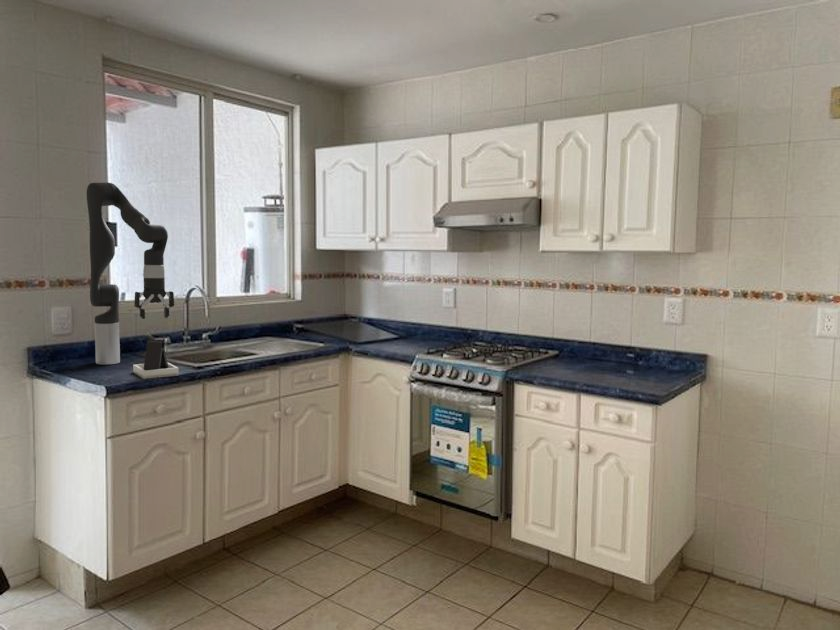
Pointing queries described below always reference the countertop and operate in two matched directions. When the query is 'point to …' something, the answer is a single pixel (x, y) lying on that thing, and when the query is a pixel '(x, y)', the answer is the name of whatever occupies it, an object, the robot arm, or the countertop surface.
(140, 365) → the tray
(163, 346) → the dark tent sign
